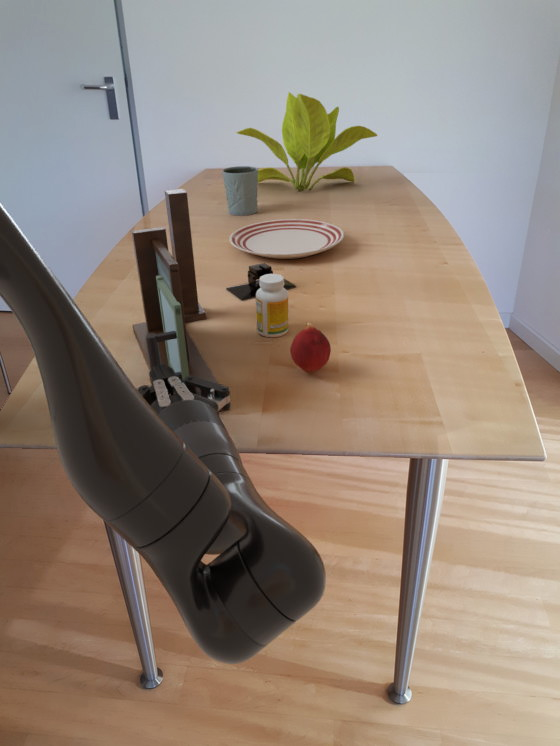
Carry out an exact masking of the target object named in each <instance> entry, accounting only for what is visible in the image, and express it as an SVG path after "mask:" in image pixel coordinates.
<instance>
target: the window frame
mask: <svg viewBox="0 0 560 746" xmlns="http://www.w3.org/2000/svg"><path fill="white" fill-rule="evenodd" d="M130 232H131V239H132V244H133V250H134V257H135V263H136V268H137V269H136V271H137V274H138V281H139V289H140V293H141V300H142V307H143V313H144V319H145V322H139V323H133V324H132V330H133V334H134V336H135V339H136V342H137V344H138V346H139V349H140V351H141V354H142V356H143V359H144V361H145V364H146V366H147V368H148V371H149V372H150V371H151V368H150V362H149V356H148V350H147V344H146V338H145V336H146V335H147V334H150V333H155V334H160V333H164V330H163V323H162V316H161V309H160V302H159V295H158V288H157V281H156V276H159V275H162V277H163V280H164V282H165V283H166V285H167V286H168V288H169V289H170V291H171V293H172V294H173V296H174V297H175V299H176V301H177V302H179V303H180V305H181V312H182V320H183V329H184V337H185V345H186V353H187V362H188V370H189V376H195V377H198V378H201V379H205V380H208V381H211V382H214V383H218V384H220V382H218V380H217V378H216V376H215V375H214V373H213V372H212V370H211V368H210V367H209V365H208V363H207V361H206V359H205V358H204V356H203V355H202V353H201V351H200V349H199V348H198V347H197V345H196V343H195V341H194V340H193V338H192V337H191V335H190V333H189V332H188V330H187V327H186V323H185V318H184V310H183V302H182V293H181V285H180V276H179V268H178V263H177V262H176V261H175V259H174V258H173V256H172V253H170V251H169V244H168V243H169V242H168V236H167V229H166V228H165V227H164V226H160V227H152V228H145V229H137V230H131V231H130ZM158 346H159V352H160V359H161V365H162V364H165V365H166V367H169V365H168V358H167V351H166V344H165V341H161V342H158ZM196 390H197V391H199V392H201V390H200V389H199V388H198V387H196ZM168 396H170V394H168ZM230 409H231V407H230V408H229V409H227V410H223V409H220V410H219V411H218V413H220V412H221V413H222V412H226V411H229V410H230Z"/></svg>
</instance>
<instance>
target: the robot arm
mask: <svg viewBox="0 0 560 746" xmlns="http://www.w3.org/2000/svg"><path fill="white" fill-rule="evenodd" d="M0 298H1V300H2V301H3V303H5V304H6V306H7V307H8V308H9V310H10V312H11V313H12V314H13V315H14V317H15V318H16V320H17V322H18V323H19V324H20V326H21V328H22V330H23V332H24V334H25V335H26V337H27V340H28V342H29V344H30V347H31V350H32V351H33V354H34V357H35V358H34V359H35V361H36V364H37V369H38V371H39V374H40V378H41V381H42V386H43V390H44V394H45V399H46V402H47V408H48V413H49V419H50V423H51V428H52V433H53V437H54V441H55V446H56V449H57V453H58V456H59V460H60V462H61V465H62V467H63V470H64V472H65V474H66V477H67V478H68V480H69V482H70V484H71V485H72V487H73V488H74V490H75V491H76V492H77V495H78V496H79V497H80V498H81V499H82V501H83V502H84V503H85V504H86V505H87V506H88V507H89V508H90V509H91V510H92V512H94V513H95V514H96V515H97V516H98V517H99V518H100V519H101V520H102V521H103V522H104V523H105V524H107V525H108V526H109V527H110V528H111V530H113V531H114V532H115V533H116V534H118V536H119V537H120V538H122V540H124V541H125V542H126V543H127V545H129V546H131V548H132V549H134V551H136V553H138V554H139V555H140V556H141V557H142V558H143V560H144V561H145V562H146V563H147V565H148V566H149V568H151V570H152V572H153V573H154V575H155V576H156V577H157V579H158V580H159V582H160V583H161V585H162V587H163V588H164V590H165V591H166V593H167V595H169V597H170V599H171V601H172V603H173V605H174V606H175V608H176V610H177V612H178V613H179V616H180V617H181V619H182V621H183V623H184V625H185V627H186V629H187V631H188V633H189V635H190V636H191V638H192V639H193V641H194V643H195V644H196V645H197V647H198V648H199V649H200V651H202V652H203V654H204V655H206V656H207V657H208V658H210V659H212V660H214V661H216V662H219V663H223V664H227V665H239V664H242V663H245V662H247V661H249V660H250V659H252V658H254V657H255V656H256V655H258V654H259V653H260V652H261V651H262V650H264V649H265V648H266V647H267V646H269V644H271V643H272V642H273V641H274V640H276V639H277V638H278V637H279V636H280V635H282V634H283V633H284V632H286V630H288V629H289V628H290V627H292V626H293V625H294V624H296V622H297V621H299V620H301V619H302V618H304V616H306V615H307V614H308V613H309V612H311V610H313V609H314V608H315V607H316V606H318V604H319V603H320V601H321V600H322V598H323V596H324V595H325V590H326V584H327V575H326V574H327V573H326V569H325V564H324V561H323V558H322V557H321V555H320V553H319V552H318V550H317V548H316V547H315V546H314V544H312V542H311V541H310V540H309V539H308V538H307V537H306V536H305V535H304V534H302V533H301V531H299V530H298V529H297V528H295V527H294V526H293V525H291V524H290V523H289V522H287V520H285V519H284V518H283V517H282V516H280V515H279V514H278V513H277V512H276V511H275V510H273V509H272V508H271V507H270V506H269V504H268V503H267V502H266V501H265V500H264V499H263V497H262V496H261V494H260V493H259V492H258V490H257V489H256V487H255V485H254V483H253V481H252V480H251V478H250V475H249V474H248V472H247V470H246V468H245V466H244V464H243V461H242V457H241V455H240V452H239V450H238V448H237V446H236V444H235V442H234V440H233V438H232V436H231V435H230V433H229V431H228V430H227V428H226V426H225V424H224V422H223V421H222V418H221V416H220V412H218V411H219V410H220V409H223V410H225V411H228V410H227V409H229V408H230V409H231V408H232V407H231V406H232V405H231V391H230V387H229V386H227V385H224V384H221V383H219V382H218V383H219V384H218V383H214V382H211V381H208V380H205V379H201V378H198V377H195V376H187V377H185V380H181V379H179V378H178V377H176V375H175V373H174V371H173V368H171V367H166V365H165V364H162V365H157V366H153V370H152V371H149V372H148V374H149V375H148V376H149V381H150V382H149V383H150V386H149V385H147V384H144V385H140V386H139V387H138V388H137V387H136V386H135V385H134V384H133V382H132V380H131V379H130V377H128V375H127V374H126V372H125V371H124V370H123V368H122V367H121V365H120V364H119V363H118V361H117V359H116V358H115V357H114V355H113V354H112V352H111V351H110V349H109V348H108V347H107V345H106V343H105V342H103V340H102V339H101V337H100V336H99V334H98V333H97V332H96V329H95V328H94V327H93V326H92V324H91V323H90V321H89V320H88V319H87V317H86V315H84V313H83V312H82V310H81V309H80V307H79V306H78V304H77V303H76V301H74V299H73V298H72V296H71V295H70V294H69V292H68V291H67V290H66V288H65V286H63V284H62V283H61V281H60V280H59V279H58V277H57V276H56V274H55V273H54V272H53V270H51V268H50V266H49V265H48V264H47V262H46V261H45V260H44V258H43V257H42V255H41V254H40V252H39V251H38V250H37V248H35V246H34V245H33V243H32V242H31V241H30V239H29V238H28V237H27V235H26V234H25V232H23V230H22V229H21V227H20V226H19V224H18V223H17V222H16V221H15V219H14V217H12V215H11V214H10V212H9V211H8V210H7V209H6V207H5V206H4V205H3V204H2V202H0ZM196 387H198V388H199V389H200V390H201V392H199V391H197V390H196ZM168 394H170V396H168ZM230 409H229V410H230ZM205 555H210V556H211V555H213V556H214V555H215V556H216V555H217V556H216V557H215V558H213V559H212V560H211V561H210V562H208V563H207V564H206V563H205V562H203V561H202V560H203V559H204V556H205Z"/></svg>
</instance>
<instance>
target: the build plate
mask: <svg viewBox="0 0 560 746" xmlns="http://www.w3.org/2000/svg"><path fill="white" fill-rule="evenodd" d="M272 268H273V267H272V266H271V265H269V264H267V263H266V262H261V263H258V264H252V265H249V266H248V270H247V282H243V283H239V284H235V285H231V286H227V287H226V288H225V290H226V291H228V292H229V293H230V294H232V295H233V296H235V297H236V298H238V299H239V300H240V301H246V300H251V299H253V298H254V299H256V292H257V290H258V289H259V288H260V285H259V284H260V277H261V276H263V275H266V274H274V271H273V269H272ZM296 287H297V285H296V284H294V283H293V282H291V281H289V280H288V279H285V278H284V286H283V288H285V289H286V290H287V291H288V290H291V289H294V288H296Z"/></svg>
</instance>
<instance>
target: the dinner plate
mask: <svg viewBox="0 0 560 746" xmlns="http://www.w3.org/2000/svg"><path fill="white" fill-rule="evenodd" d="M344 238H345V232H344V231H343V229H342V228H340V227H339V226H337V225H335V224H332V223H328V222H327V221H322V220H314V219H305V218H284V219H282V218H281V219H272V220H265V221H260V222H259V221H258V222H255V223H251V224H248V225H245V226H242V227H239V228H238V229H237V230H234V231H233V232H232V233H231V234H230V235H229V243H230V244H231V246H233V247H234V248H236V249H238V250H240V251H241V252H242V251H243V252H245V253H248V254H251V255H256V256H259V257H261V258H267V259H277V260H292V259H301V258H307V257H310V256H314V255H316V254H319V253H322V252H325V251H328V250H330V249H332V248H334V247H336V246H337V245H338V244H339V243H341V242H342V241H343V239H344Z"/></svg>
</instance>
